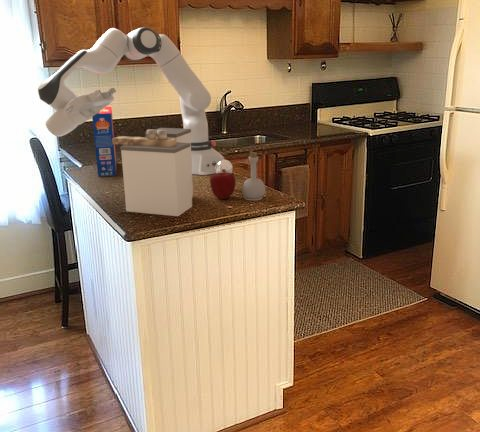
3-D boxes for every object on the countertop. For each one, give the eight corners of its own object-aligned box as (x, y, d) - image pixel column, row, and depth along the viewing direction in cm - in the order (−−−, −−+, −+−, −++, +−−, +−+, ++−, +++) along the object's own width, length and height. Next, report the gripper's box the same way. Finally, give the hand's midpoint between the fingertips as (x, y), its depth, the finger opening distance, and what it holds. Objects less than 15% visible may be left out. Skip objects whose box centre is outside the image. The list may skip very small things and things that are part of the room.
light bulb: (235, 187, 214) (235, 158, 210) (229, 191, 208) (229, 161, 204) (219, 186, 216) (218, 157, 212) (213, 190, 210) (212, 160, 206)
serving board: (112, 144, 182) (111, 129, 180) (121, 141, 187) (119, 127, 185) (169, 147, 175) (168, 132, 173) (176, 144, 180) (176, 129, 178)
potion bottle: (241, 195, 202) (240, 149, 196) (263, 194, 202) (263, 148, 197) (243, 201, 193) (242, 153, 188) (266, 201, 194) (266, 153, 189)
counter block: (125, 211, 184) (119, 137, 176) (157, 193, 206) (153, 127, 198) (178, 216, 178) (174, 140, 170) (205, 197, 200) (203, 129, 192)
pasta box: (116, 175, 237) (110, 113, 228) (98, 176, 235) (91, 113, 227) (116, 163, 263) (111, 106, 255) (100, 163, 261) (94, 107, 253)
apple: (210, 194, 203) (209, 169, 200) (235, 194, 204) (234, 169, 201) (210, 201, 194) (209, 175, 191) (236, 201, 195) (235, 174, 192)
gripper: (58, 104, 183) (85, 84, 177) (92, 99, 201) (117, 80, 195) (67, 120, 183) (94, 101, 178) (100, 113, 202) (126, 96, 196)
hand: (107, 90), depth 187 cm, fingers open, 8 cm apart
